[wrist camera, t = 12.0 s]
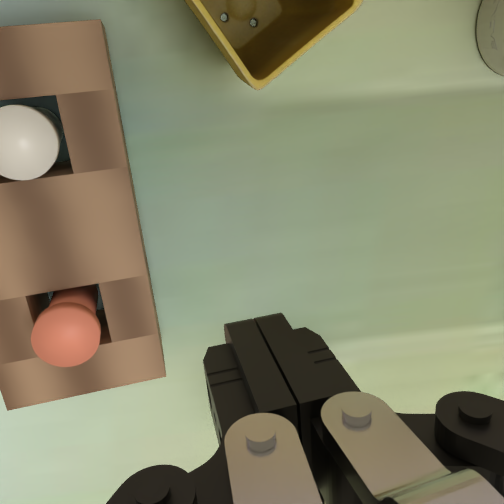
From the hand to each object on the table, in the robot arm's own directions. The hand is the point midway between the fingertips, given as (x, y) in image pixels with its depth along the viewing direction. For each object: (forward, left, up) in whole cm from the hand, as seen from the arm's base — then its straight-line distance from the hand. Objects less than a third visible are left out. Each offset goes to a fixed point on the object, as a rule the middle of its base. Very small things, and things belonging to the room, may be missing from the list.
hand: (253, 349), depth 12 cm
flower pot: (-7, -11, -29) cm, 32 cm away
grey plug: (+9, -3, -28) cm, 30 cm away
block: (+9, +3, -29) cm, 31 cm away
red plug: (+9, +9, -28) cm, 30 cm away
